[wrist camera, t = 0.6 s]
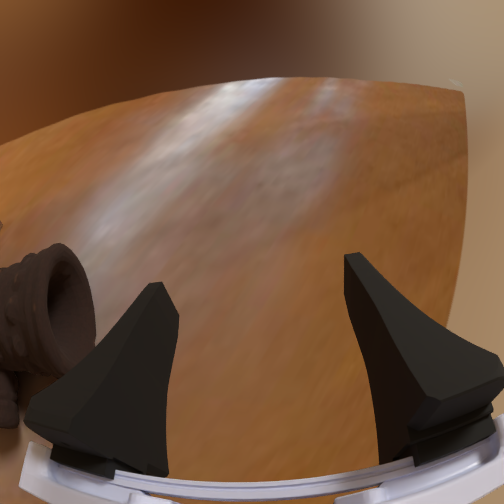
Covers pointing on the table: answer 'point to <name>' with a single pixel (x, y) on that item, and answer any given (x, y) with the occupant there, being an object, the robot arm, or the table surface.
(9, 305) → the pipe
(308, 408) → the table surface
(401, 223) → the table surface
